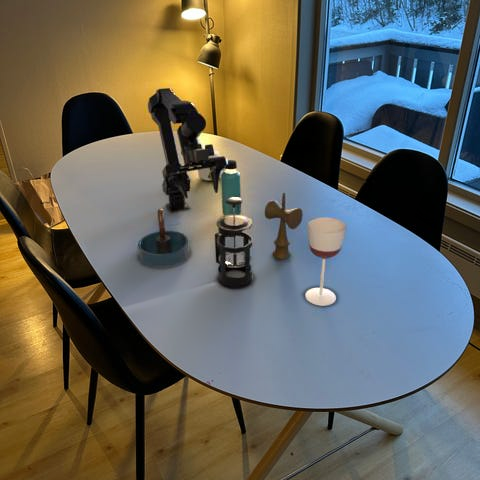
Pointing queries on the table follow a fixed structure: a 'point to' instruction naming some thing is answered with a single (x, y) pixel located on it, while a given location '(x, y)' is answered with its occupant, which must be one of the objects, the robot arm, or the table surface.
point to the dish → (178, 253)
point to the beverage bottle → (230, 188)
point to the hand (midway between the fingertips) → (201, 195)
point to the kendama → (283, 225)
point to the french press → (233, 256)
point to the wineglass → (324, 252)
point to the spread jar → (208, 170)
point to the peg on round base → (162, 236)
